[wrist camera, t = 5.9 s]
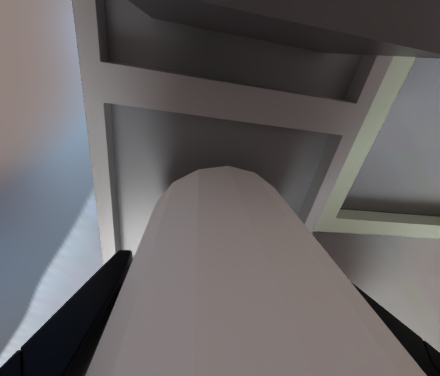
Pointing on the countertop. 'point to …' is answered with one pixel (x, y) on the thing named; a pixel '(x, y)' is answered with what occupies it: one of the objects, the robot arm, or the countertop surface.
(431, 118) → the countertop surface
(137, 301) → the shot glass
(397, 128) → the countertop surface
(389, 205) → the countertop surface
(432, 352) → the robot arm
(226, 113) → the grey divided tray
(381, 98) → the tray rim
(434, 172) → the countertop surface
